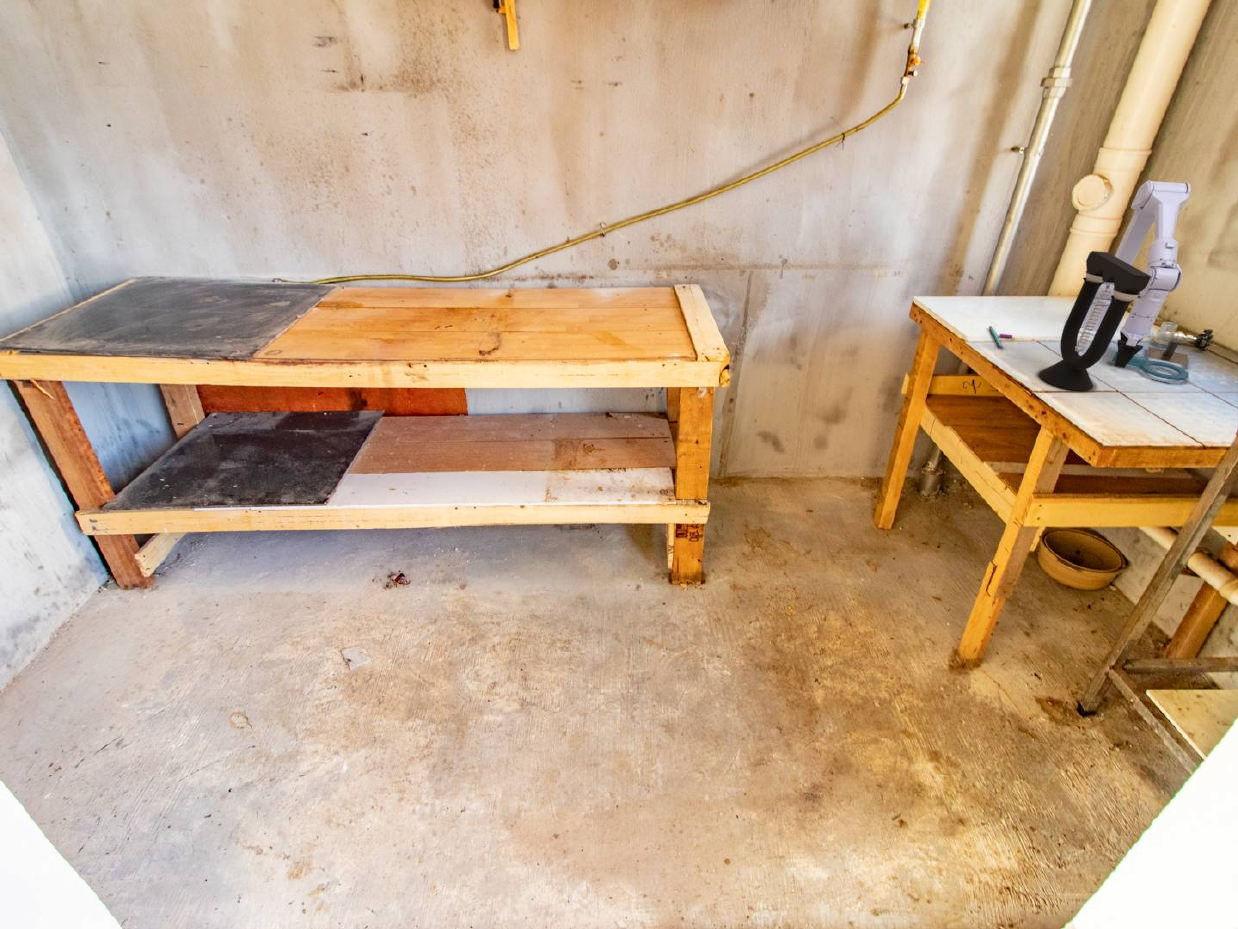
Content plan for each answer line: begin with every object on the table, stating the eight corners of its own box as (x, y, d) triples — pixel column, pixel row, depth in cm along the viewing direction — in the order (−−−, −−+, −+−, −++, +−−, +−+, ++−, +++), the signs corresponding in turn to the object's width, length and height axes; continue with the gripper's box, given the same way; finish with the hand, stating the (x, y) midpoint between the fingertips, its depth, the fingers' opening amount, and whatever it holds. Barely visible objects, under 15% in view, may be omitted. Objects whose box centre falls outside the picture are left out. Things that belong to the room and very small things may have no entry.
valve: (1153, 348, 186) (1204, 356, 182) (1164, 326, 182) (1216, 333, 178) (1148, 340, 191) (1197, 347, 187) (1159, 318, 187) (1209, 325, 183)
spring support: (1108, 398, 159) (1167, 276, 143) (1055, 394, 160) (1108, 273, 144) (1070, 363, 176) (1119, 251, 160) (1023, 360, 178) (1067, 248, 161)
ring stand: (1144, 360, 179) (1154, 341, 176) (1146, 350, 185) (1155, 332, 182) (1185, 369, 174) (1195, 350, 171) (1185, 358, 180) (1195, 340, 177)
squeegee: (1019, 347, 183) (1000, 345, 184) (1018, 350, 183) (999, 348, 184) (1007, 327, 195) (989, 325, 196) (1006, 330, 195) (988, 328, 196)
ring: (1108, 369, 173) (1113, 358, 171) (1111, 357, 180) (1116, 346, 178) (1185, 387, 165) (1191, 376, 163) (1185, 374, 172) (1191, 362, 170)
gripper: (1161, 325, 161) (1136, 375, 168) (1163, 309, 171) (1139, 357, 178) (1127, 319, 164) (1104, 368, 172) (1131, 303, 174) (1109, 351, 182)
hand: (1120, 362), depth 175 cm, fingers open, 7 cm apart
